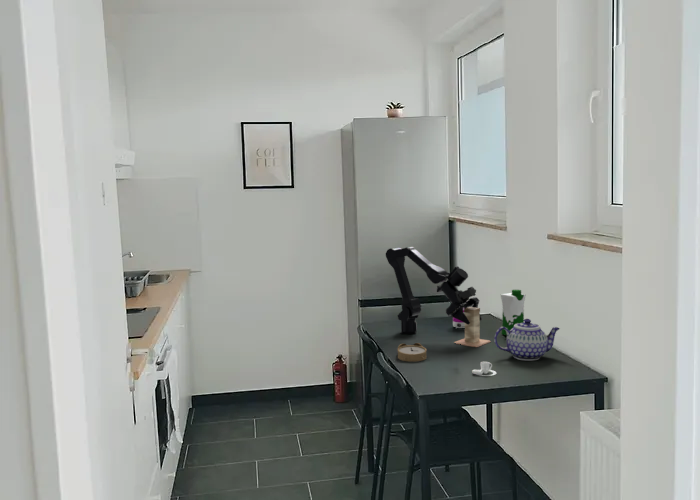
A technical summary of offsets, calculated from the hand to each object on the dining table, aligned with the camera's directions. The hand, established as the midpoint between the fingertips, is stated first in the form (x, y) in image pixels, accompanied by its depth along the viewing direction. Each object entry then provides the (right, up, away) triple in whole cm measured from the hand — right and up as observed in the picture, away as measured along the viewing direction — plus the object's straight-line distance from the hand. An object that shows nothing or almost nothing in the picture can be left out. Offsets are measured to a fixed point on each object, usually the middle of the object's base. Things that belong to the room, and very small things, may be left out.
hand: (475, 322), depth 277 cm
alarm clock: (-28, -12, -18) cm, 35 cm away
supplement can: (0, -6, +32) cm, 33 cm away
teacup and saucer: (-7, -14, -40) cm, 43 cm away
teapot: (+16, -11, -23) cm, 30 cm away
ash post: (-1, -8, +2) cm, 9 cm away
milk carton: (+19, -7, +15) cm, 25 cm away
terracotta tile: (-1, -9, +2) cm, 9 cm away
